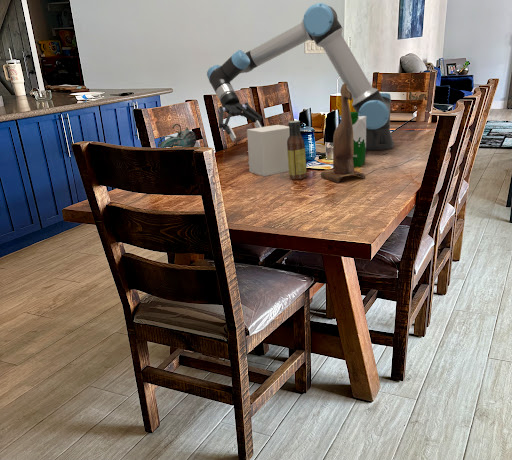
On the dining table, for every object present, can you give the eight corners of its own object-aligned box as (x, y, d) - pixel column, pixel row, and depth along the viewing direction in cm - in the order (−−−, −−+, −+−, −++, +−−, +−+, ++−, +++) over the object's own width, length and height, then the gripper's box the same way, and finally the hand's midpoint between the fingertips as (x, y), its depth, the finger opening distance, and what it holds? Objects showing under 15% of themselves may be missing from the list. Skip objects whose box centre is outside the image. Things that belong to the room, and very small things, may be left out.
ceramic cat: (191, 172, 199) (185, 120, 192) (203, 173, 195) (198, 121, 188) (153, 184, 184) (146, 128, 177) (166, 186, 180) (159, 129, 173)
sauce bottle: (308, 176, 182) (307, 119, 176) (304, 180, 177) (302, 122, 170) (290, 175, 185) (288, 120, 178) (286, 179, 179) (283, 122, 172)
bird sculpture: (339, 185, 170) (341, 85, 158) (319, 177, 180) (320, 83, 168) (366, 180, 174) (370, 83, 163) (345, 172, 184) (347, 81, 173)
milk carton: (339, 167, 193) (338, 113, 186) (345, 162, 200) (345, 110, 194) (362, 168, 189) (362, 113, 182) (367, 162, 197) (368, 110, 190)
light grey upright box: (233, 166, 204) (230, 126, 198) (265, 160, 212) (263, 121, 206) (264, 176, 186) (261, 132, 180) (298, 168, 194) (297, 126, 188)
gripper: (250, 99, 226) (270, 137, 219) (199, 107, 214) (219, 147, 207) (255, 88, 219) (277, 126, 213) (203, 94, 208) (224, 136, 201)
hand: (248, 137), depth 210 cm, fingers open, 13 cm apart
